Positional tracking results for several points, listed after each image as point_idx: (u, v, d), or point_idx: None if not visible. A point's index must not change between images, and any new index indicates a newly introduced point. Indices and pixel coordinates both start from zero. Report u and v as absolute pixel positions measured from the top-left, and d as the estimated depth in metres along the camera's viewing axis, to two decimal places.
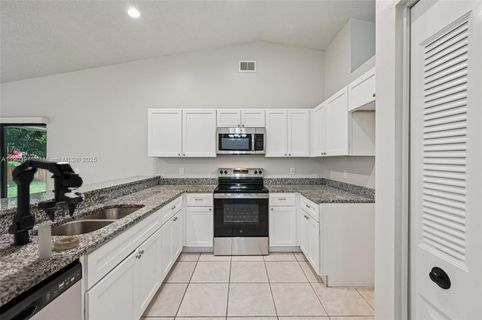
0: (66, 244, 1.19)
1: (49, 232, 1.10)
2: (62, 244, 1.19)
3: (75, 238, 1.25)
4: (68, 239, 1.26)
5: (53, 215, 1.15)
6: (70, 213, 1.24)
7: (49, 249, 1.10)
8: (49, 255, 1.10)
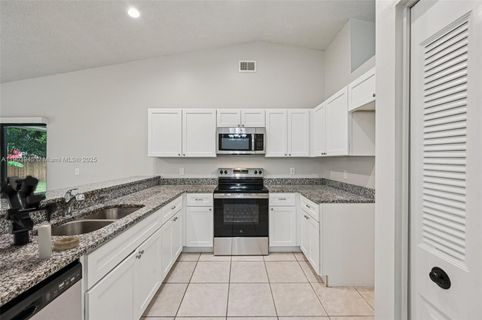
0: (66, 244, 1.19)
1: (49, 232, 1.10)
2: (62, 244, 1.19)
3: (75, 238, 1.25)
4: (68, 239, 1.26)
5: (22, 220, 1.11)
6: (47, 219, 1.19)
7: (49, 249, 1.10)
8: (49, 255, 1.10)
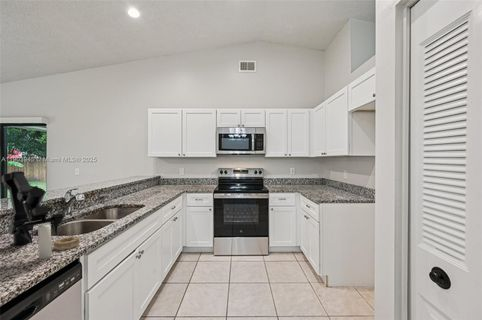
0: (66, 244, 1.19)
1: (49, 232, 1.10)
2: (62, 244, 1.19)
3: (75, 238, 1.25)
4: (68, 239, 1.26)
5: (28, 233, 1.07)
6: (54, 232, 1.15)
7: (49, 249, 1.10)
8: (49, 255, 1.10)
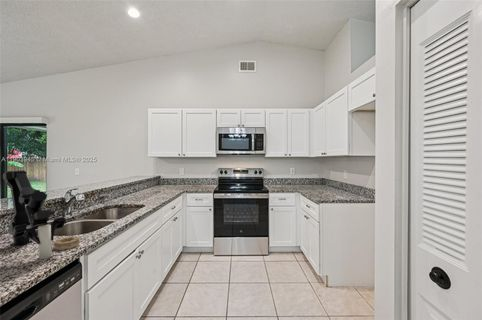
0: (66, 244, 1.19)
1: (49, 232, 1.10)
2: (62, 244, 1.19)
3: (75, 238, 1.25)
4: (68, 239, 1.26)
5: (36, 236, 1.08)
6: None
7: (49, 249, 1.10)
8: (49, 255, 1.10)
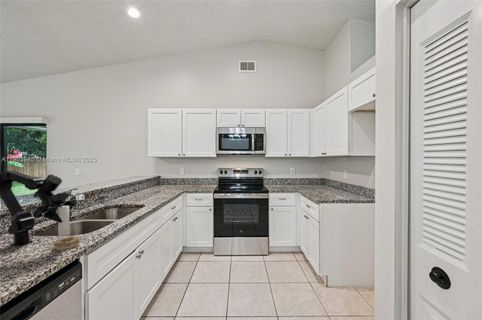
0: (66, 244, 1.19)
1: (68, 212, 1.22)
2: (62, 244, 1.19)
3: (75, 238, 1.25)
4: (68, 239, 1.26)
5: (57, 216, 1.18)
6: None
7: (68, 227, 1.21)
8: (68, 233, 1.21)
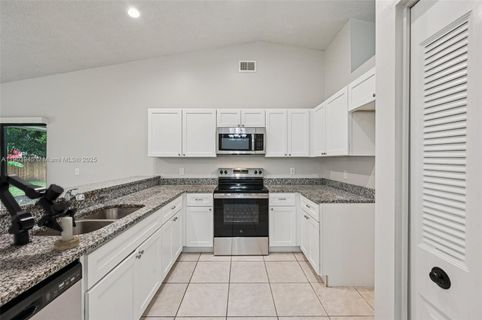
0: (66, 244, 1.19)
1: (71, 223, 1.24)
2: (62, 244, 1.19)
3: (75, 238, 1.25)
4: None
5: (58, 225, 1.19)
6: (72, 224, 1.27)
7: (72, 238, 1.24)
8: None
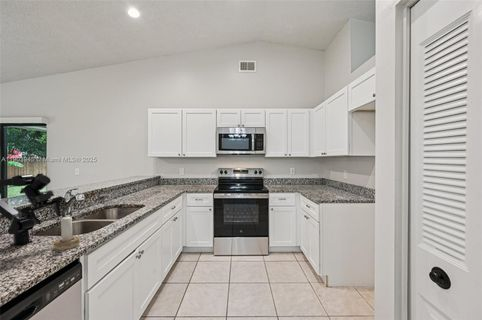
0: (66, 244, 1.19)
1: (71, 223, 1.24)
2: (62, 244, 1.19)
3: (75, 238, 1.25)
4: None
5: (36, 218, 1.19)
6: (57, 214, 1.28)
7: (72, 238, 1.24)
8: None
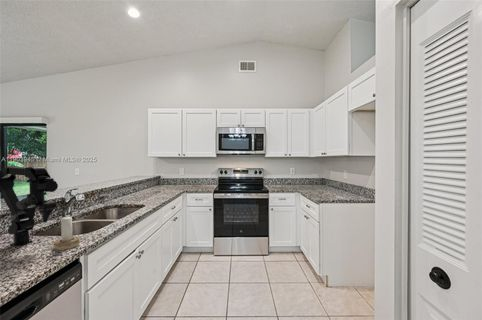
0: (66, 244, 1.19)
1: (71, 223, 1.24)
2: (62, 244, 1.19)
3: (75, 238, 1.25)
4: None
5: (27, 215, 1.24)
6: None
7: (72, 238, 1.24)
8: None
